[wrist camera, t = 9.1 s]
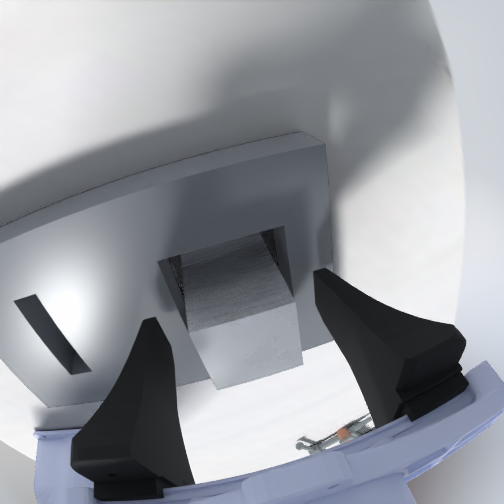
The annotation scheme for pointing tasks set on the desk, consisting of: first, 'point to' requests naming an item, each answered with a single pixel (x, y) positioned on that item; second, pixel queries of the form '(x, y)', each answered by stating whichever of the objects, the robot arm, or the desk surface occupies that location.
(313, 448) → the clamp
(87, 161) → the desk surface
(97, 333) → the plate
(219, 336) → the square bit
